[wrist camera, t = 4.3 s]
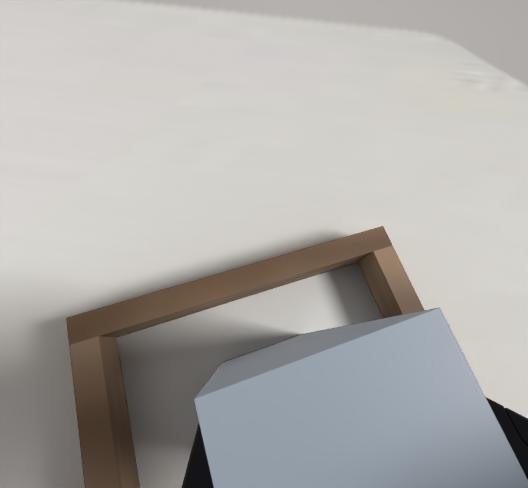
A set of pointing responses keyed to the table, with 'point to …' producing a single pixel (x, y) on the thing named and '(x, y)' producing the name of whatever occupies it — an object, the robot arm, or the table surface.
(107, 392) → the frame
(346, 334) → the slate-blue block
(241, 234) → the table surface
